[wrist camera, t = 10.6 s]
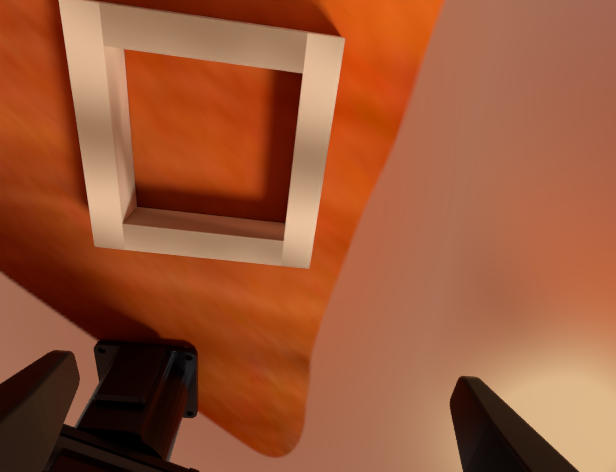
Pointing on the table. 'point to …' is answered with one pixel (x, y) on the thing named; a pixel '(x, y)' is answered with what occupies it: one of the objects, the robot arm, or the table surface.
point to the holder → (117, 134)
